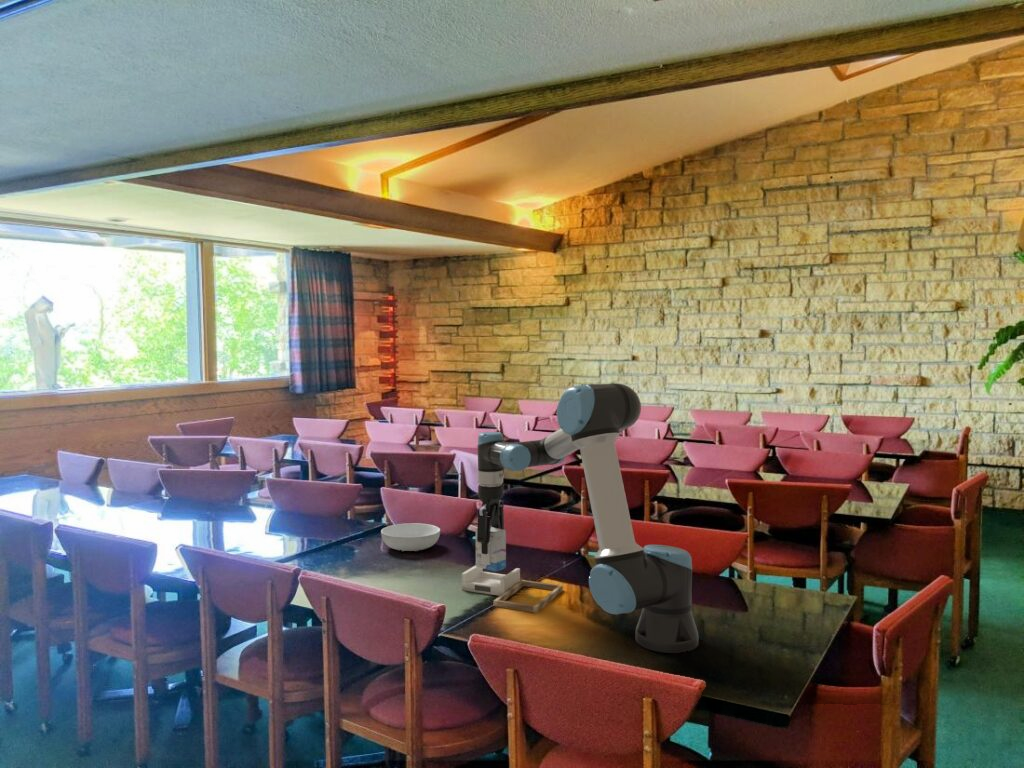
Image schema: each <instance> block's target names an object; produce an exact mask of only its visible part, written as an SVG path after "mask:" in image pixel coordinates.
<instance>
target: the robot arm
mask: <svg viewBox="0 0 1024 768" xmlns="http://www.w3.org/2000/svg"><path fill="white" fill-rule="evenodd" d="M641 410H642V403H641V400H640V397H639V396H638V394H637V392H635V391H634V389H633V388H632V387H630V386H628V385H626V384H622V383H617V382H616V383H615V382H614V383H596V384H595V383H594V384H593V383H592V384H591V383H590V384H587V383H584V384H581V385H580V384H579V385H573V386H570V387H569V388H567V389H566V390H564V391H563V393H562V394H561V396H560V400H559V401H558V404H557V409H556V418H557V423H558V426H559V428H558V429H557V430H556V431H554V432H551V433H550V434H549V435H546V436H545V437H543V438H542V439H537V440H529V441H527V440H526V441H515V442H514V441H513V442H508V441H505V439H504V435H503V433H502V432H500V431H499V432H498V431H484V432H480V433H479V434H478V439H477V445H476V446H477V483H478V486H477V496H478V498H479V499H481V500H482V503H481V507H480V508H477V509H476V513H477V527H476V528H477V541H478V542H481V564H486V565H490V564H491V543H490V542H489V538H490V530H491V527H495V528H499V529H504V530H505V526H504V524H505V523H504V522H505V520H504V519H505V517H504V515H505V514H504V504H505V501H504V500H500V499H502V498H503V497H504V485H503V484H504V477H505V474H504V469H506V470H508V471H511V472H521V471H524V470H525V469H526V468H533V467H539V466H540V467H542V466H554V465H557V464H561V463H563V462H564V461H565V459H566V457H567V456H568V455H570V454H573V453H575V452H576V451H578V450H579V451H580V456H581V457H580V458H581V461H582V466H583V471H584V477H585V483H586V487H587V492H588V497H589V498H588V499H589V503H590V508H591V512H592V517H593V522H594V523H593V524H594V529H595V535H596V539H597V543H598V550H597V552H596V553H595V555H594V561H595V566H594V567H592V568H591V570H590V572H589V574H590V575H589V576H588V586H589V590H590V593H591V596H592V598H593V599H594V601H595V602H596V604H597V605H598V606H599V607H601V609H602V610H603V611H605V612H607V614H608V613H609V614H612V615H621V614H629V613H632V612H633V611H637V610H641V613H640V616H639V619H638V621H637V624H636V627H635V638H634V639H635V642H636V643H637V644H638V645H639V646H640V647H643V648H645V649H647V650H650V651H654V652H657V653H663V654H665V653H666V654H681V652H683V653H687V652H686V651H688V652H690V651H693V650H695V649H697V647H699V637H700V636H699V632H698V629H697V628H698V627H697V624H696V623H695V622H696V621H695V619H694V615H693V612H692V602H693V600H692V594H693V593H692V592H693V591H692V590H693V564H692V563H693V562H692V561H693V559H692V556H691V554H690V553H689V551H687V550H685V549H683V548H680V547H676V546H671V545H664V544H646V545H644V546H643V547H642V546H641V545H639V544H638V543H637V542H636V540H635V539H636V538H635V535H634V534H635V533H634V529H633V525H632V524H633V523H632V520H631V515H630V509H629V505H628V500H627V496H626V495H627V494H626V491H625V487H624V481H623V478H622V476H623V475H622V471H621V467H620V466H621V465H620V461H619V457H618V452H617V447H616V441H617V439H618V438H619V437H620V433H621V432H623V431H624V430H627V429H628V428H631V427H632V426H633V425H635V423H637V421H638V419H639V418H640V415H641V412H642V411H641Z"/></svg>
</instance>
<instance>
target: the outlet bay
mask: <svg viewBox="0 0 1024 768" xmlns="http://www.w3.org/2000/svg"><path fill="white" fill-rule="evenodd" d="M483 570H484V568H480V567H476V564H475V565H473V566H472V567H470V568H469V569H467V570H465V571H464V572H462V573H461V591H465V592H473V593H479V594H485V595H490V596H491V595H493V596H497V597H499V596H501V595H502V594H503V593H505V592H506V591H508V590H509V589H510V588H512V587H513V586H514V585H516V584H517V583H519V582H520V581H521V568H518V567H516V568H514V569H513V570H511V571H509V572H508V573H507V574H504V573H503V574H502V573H496V572H488V571H483Z"/></svg>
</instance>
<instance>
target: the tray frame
mask: <svg viewBox="0 0 1024 768" xmlns="http://www.w3.org/2000/svg"><path fill="white" fill-rule="evenodd" d="M524 587H528V588H534V589H542V590H547V591H548V590H549V591H550V592H549V593H548V594H547V595H545V596H544V598H542V599H541V600H539V602H537V603H536V604H535V605H531V604H527V603H519V602H514V601H513V602H512V601H508V599H510V597H511V596H513V595H514V594H516V593H517V592H518V591H519V590H521V589H523V588H524ZM563 590H564V589H563V585H562V584H555V583H554V584H553V583H547V582H542V581H541V582H539V581H534V580H533V581H532V580H527V579H520V582H519V583H517V584H516V585H514V586H513V587H512V588H510V589H509V590H508V591H506V592H505V593H503V594H502V595H501V596H497V597H496V598H495V599H494V600H493V601H492V602H493V603H492V604H493V607H498V608H503V609H511V610H517V611H522V612H531V613H536V614H537V613H538V612H539V611H540V610H542V609H543V608H544V607H545V606H547V604H549V603H550V602H551V601H552V600H554V598H556V597H557V596H558V595H559V594H561V592H563Z"/></svg>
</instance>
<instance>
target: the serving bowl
mask: <svg viewBox="0 0 1024 768" xmlns="http://www.w3.org/2000/svg"><path fill="white" fill-rule="evenodd" d="M380 535H381V538H382V540H383V543H384V544H385V545H386V546H387V547H389V548H391V549H393V550H397V551H400V550H401V552H404V551H415V552H420V551H422V550H426V549H430V548H431V547H433V546H434V545H435V544H436V543H437V542H438V540H439V538H440V535H441V528H440V527H438V526H436V525H434V524H429V523H420V522H419V523H418V522H416V523H415V522H414V523H413V522H412V523H411V522H409V523H399V524H392V525H389V526H386V527H383V528H382V529H381V530H380ZM419 550H420V551H419Z"/></svg>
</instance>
